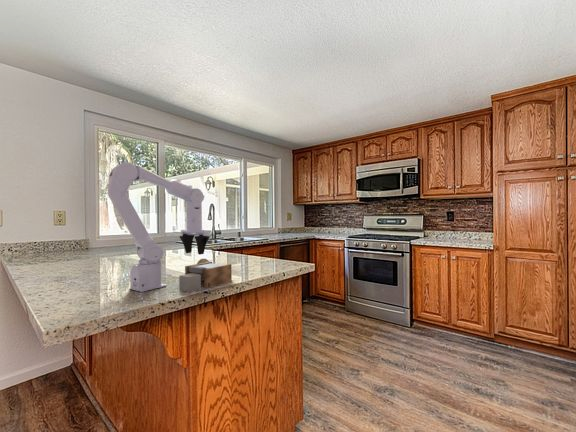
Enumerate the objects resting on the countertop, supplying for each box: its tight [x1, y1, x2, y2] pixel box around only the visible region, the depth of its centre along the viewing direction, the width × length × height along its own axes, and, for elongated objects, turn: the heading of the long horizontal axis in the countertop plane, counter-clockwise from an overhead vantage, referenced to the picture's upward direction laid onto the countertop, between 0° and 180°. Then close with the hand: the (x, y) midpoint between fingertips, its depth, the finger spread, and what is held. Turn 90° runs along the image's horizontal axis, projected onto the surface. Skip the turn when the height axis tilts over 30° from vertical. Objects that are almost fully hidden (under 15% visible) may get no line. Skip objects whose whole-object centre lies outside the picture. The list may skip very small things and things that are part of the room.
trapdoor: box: [189, 262, 223, 274], centre depth 109 cm, size 11×9×2 cm
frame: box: [184, 261, 233, 288], centre depth 109 cm, size 12×12×6 cm
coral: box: [196, 258, 210, 264], centre depth 124 cm, size 14×6×6 cm, turn 19°
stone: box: [178, 273, 202, 293], centre depth 99 cm, size 5×5×5 cm
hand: (194, 253), depth 113 cm, fingers open, 7 cm apart
